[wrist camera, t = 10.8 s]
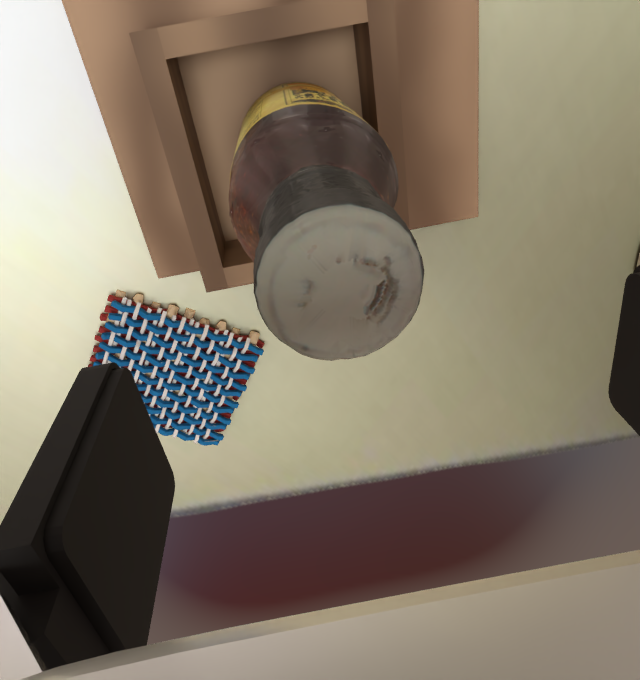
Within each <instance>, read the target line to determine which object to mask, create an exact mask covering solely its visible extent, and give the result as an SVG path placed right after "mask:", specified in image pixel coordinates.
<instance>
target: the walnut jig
mask: <svg viewBox="0 0 640 680" xmlns="http://www.w3.org/2000/svg"><path fill="white" fill-rule="evenodd" d="M62 3H63V5H64V8H65V11H66V14H67V17H68V20H69V23H70V25H71V28H72V31H73V34H74V37H75V40H76V43H77V46H78V48H79V51H80V54H81V57H82V60H83V63H84V66H85V69H86V71H87V74H88V77H89V80H90V83H91V86H92V89H93V92H94V94H95V97H96V100H97V103H98V106H99V109H100V112H101V115H102V117H103V120H104V123H105V126H106V129H107V132H108V135H109V138H110V140H111V143H112V146H113V149H114V152H115V155H116V158H117V160H118V163H119V166H120V169H121V172H122V175H123V178H124V181H125V183H126V186H127V189H128V192H129V195H130V198H131V201H132V204H133V206H134V209H135V212H136V215H137V218H138V221H139V224H140V227H141V229H142V232H143V235H144V238H145V241H146V244H147V247H148V250H149V252H150V255H151V258H152V261H153V264H154V267H155V270H156V272H157V275H158V278H164V277H169V276H174V275H179V274H185V273H190V272H195V271H200V272H201V275H202V278H203V282H204V285H205V288H206V292H211V291H216V290H221V289H227V288H232V287H237V286H242V285H247V284H252V283H254V275H253V269H254V262H253V261H252V259H251V258H250V257H249V256H248V255H247V253H246V252H245V251H244V249H243V247H242V245H241V243H240V242H239V241H238V238H237V235H236V233H235V231H234V229H233V225H232V222H231V217H230V215H229V188H230V187H229V186H230V173H231V166H232V162H233V158H234V154H235V150H236V146H237V142H238V138H239V134H240V130H241V126H242V122H243V119H244V118H245V116H246V114H247V112H248V111H249V109H250V107H251V106H252V105H253V104H254V103H255V101H256V100H257V99H258V98H260V97H261V96H262V95H263V94H264V93H266V92H267V91H269V90H270V89H272V88H274V87H276V86H279V85H281V84H286V83H293V82H305V83H311V84H315V85H318V86H321V87H323V88H325V89H326V90H328V91H330V92H331V93H333V94H334V95H335V96H336V97H338V98H339V99H340V100H341V101H342V102H343V103H345V104H346V105H347V106H348V107H350V108H351V109H352V110H354V111H355V112H356V114H358V115H359V116H360V117H361V118H362V119H364V120H365V121H366V122H367V123H368V124H369V125H370V126H372V127H373V128H374V129H375V130H376V131H377V132H378V134H379V135H380V136H381V137H382V138H383V139H384V141H385V142H386V144H387V146H388V148H389V149H390V151H391V153H392V156H393V158H394V161H395V164H396V168H397V172H398V186H399V189H398V195H397V201H396V204H395V206H394V210H395V211H396V212H397V213H398V215H399V216H400V217H401V218H402V220H403V221H404V222H405V223H406V225H407V226H408V228H409V230H411V229H417V228H422V227H427V226H432V225H437V224H442V223H447V222H453V221H458V220H463V219H468V218H473V217H478V74H479V0H62Z"/></svg>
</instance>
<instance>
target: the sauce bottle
mask: <svg viewBox="0 0 640 680" xmlns="http://www.w3.org/2000/svg"><path fill="white" fill-rule="evenodd" d="M229 187H230V188H229V215H230V217H231V222H232V225H233V229H234V231H235V233H236V235H237V238H238V241H239V242H240V243H241V245H242V247H243V249H244V251H245V252H246V253H247V255H248V256H249V257H250V258H251V259H252V261H253V262H254V269H253V275H254V294H255V298H256V302H257V307H258V310H259V312H260V314H261V317H262V319H263V320H264V322H265V324H266V325H267V327H268V329H269V330H270V331H271V332H272V333H273V334H274V335H275V336H276V337H277V338H278V339H279V340H280V341H282V342H283V343H285V344H286V345H288V346H289V347H291V348H292V349H294V350H295V351H297V352H298V353H300V354H302V355H305V356H308V357H311V358H315V359H321V360H330V361H333V360H337V359H351V358H356V357H361V356H366V355H368V354H370V353H372V352H374V351H376V350H378V349H380V348H382V347H383V346H385V345H386V344H387V343H389V342H390V341H392V340H393V339H394V338H396V337H397V336H398V335H399V334H400V333H401V332H402V330H403V329H404V328H405V327H406V326H407V325H408V323H409V322H410V321H411V319H412V317H413V316H414V314H415V313H416V310H417V308H418V305H419V302H420V296H421V292H422V286H423V277H424V267H423V261H422V257H421V255H420V252H419V250H418V247H417V243H416V240H415V239H414V237H413V236H412V233H411V232H410V230H409V228H408V226H407V225H406V223H405V222H404V221H403V220H402V218H401V217H400V216H399V215H398V213H397V212H396V211H395V210H394V206H395V204H396V201H397V195H398V189H399V186H398V172H397V168H396V164H395V161H394V158H393V156H392V153H391V151H390V149H389V148H388V146H387V144H386V142H385V141H384V139H383V138H382V137H381V136H380V135H379V134H378V132H377V131H376V130H375V129H374V128H373V127H372V126H370V125H369V124H368V123H367V122H366V121H365V120H364V119H362V118H361V117H360V116H359V115H358V114H356V112H355V111H354V110H352V109H351V108H350V107H348V106H347V105H346V104H345V103H343V102H342V101H341V100H340V99H339V98H338V97H336V96H335V95H334V94H333V93H331V92H330V91H328V90H326V89H325V88H323V87H321V86H318V85H315V84H311V83H305V82H293V83H286V84H281V85H279V86H276V87H274V88H272V89H270V90H269V91H267V92H266V93H264V94H263V95H262V96H261V97H260V98H258V99H257V100H256V101H255V103H254V104H253V105H252V106H251V107H250V109H249V111H248V112H247V114H246V116H245V118H244V119H243V122H242V126H241V130H240V134H239V138H238V142H237V146H236V150H235V154H234V158H233V162H232V166H231V173H230V186H229Z"/></svg>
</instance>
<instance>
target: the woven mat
mask: <svg viewBox="0 0 640 680" xmlns="http://www.w3.org/2000/svg"><path fill="white" fill-rule="evenodd" d="M125 295H126V292H123V291H120V290H117V291H116V294H115V296H113V295H109V296H108V300H107V301H110V302H112V303H111V306H109V305H106V307H105V312H108V313H109V314H101V315H100V320H101V321H106V323H105V327H103V326H100V328H99V331H98V332H100V333H102V335H101V336H98V335H95V340H97V341H99V342H100V344H99V346H96V345H94V348H93V352H97V353H96V356H95V355H92V356H91V358H90V361H92V362H94V364H93V365H92V364H89V365H88V367H91V366H96V365H101V364H107V363H112V362H114V363H117V364H118V366H119V367H120V369H122V368H128V369H129V370H130V371H131V373H132V375H133V378H134V380H135V383H136V385H137V387H138V390H139V392H140V395H141V397H142V399H143V402H144V404H145V407H146V409H147V411H148V414H149V416H150V419H151V421H152V423H153V426H154V428H155V431H156V433H158V432H159V433H160V434H162V435H164V436H168V435H173V436H172V437H173V438H175V437H176V436H177V437H179V438H181V439H183V440H184V441H188V440H194V441H193V442H194V443H195V444H196V443H197V442H198V443H199V444H200V445H212V444H214V445H218V443H219V441H220V440H223V437H224V436H223V434H218V433H216V432H222V431H224V430H225V428H226V426H227V424H228V425H230V422H231V420H230V417H231V414H232V413H233V411H234V409H235V408H237V407H238V405H239V404H238V402H234V401H232V398H233V399H234V400H236V401H237V400H238V399H239V397H240V396H241V394H242V391H245V390H246V388H247V387H246V385H245V384H246V382H247V380H248V379H249V377H250V374H253V373H254V371H255V369H254V366H255V362H256V361H257V359H258V358H259V355H262V354H263V352H264V350H263V349H261V348H262V347H263V346H264V344H265V343H264V342H262V341H260V340H259V339H258V338H259V335H260V334H259V333H257V332H253V331H250V335H244V336H241V335H239V333H240V329H237V328H234V327H233V329H232V331H231V333H230V332H229V330H226V322H223V321H220V322H219V323H217V324H216V327H215V328H212V327H209V324H210V322H209V320H208V319H205V318H202V319H200V321H199V322H195V320H194V319H193V316H194V314H195V310H192V309H189V308H186V310H185V313H184V316H181V315H180V314H178V313H177V312H178V310H179V308H178V307H177V306H175V305H170V304H169V306H168V309H162V308H160V305H161V304H159V303H156V302H152V305H151V307H149V306H146V305H143V295H141V294H136V295H135V296H134V297H133V301H132V300H127V297H125ZM158 320H160V322H159V321H158ZM175 320H177V321H175ZM119 324H120V325H119ZM118 325H119V326H118ZM204 340H205V341H204ZM224 341H226V342H224ZM149 345H151V347H150V346H149ZM256 345H257V346H258V347H259V348H258V347H256ZM114 355H115V356H114ZM125 358H127V359H125ZM232 360H234V361H232ZM252 361H254V362H252ZM178 364H179V366H178ZM154 377H157V378H154ZM188 378H189V379H188ZM207 382H209V383H208V384H207ZM243 384H244V385H243ZM182 394H184V395H186V396H182ZM217 395H218V396H217ZM220 395H221V396H220ZM210 411H211V412H212V413H209V412H210ZM158 415H160V416H159V418H157V417H158ZM225 417H226V418H225ZM163 427H165V428H163ZM172 427H173V428H172ZM168 428H172V429H168ZM186 432H188V433H187V434H186Z"/></svg>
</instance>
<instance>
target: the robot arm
mask: <svg viewBox="0 0 640 680" xmlns="http://www.w3.org/2000/svg"><path fill="white" fill-rule="evenodd" d="M609 398H610V401H611V403H612V405H613V407H614V408H615V410H616V411H617V412H618V413H619V414H620V415H621V416H622V417H623V418H624V419H625V420H626V422H627V423H628V424H629V425H630V426H631V427H632V428H633V429H634V430H635V431H636V432H637V433H638V435H639V436H640V253H639V258H638V262H637V267H636V269H635V271H634V273H633V274H630V275H629V276H628V277H627V279H626V283H625V288H624V295H623V301H622V307H621V314H620V320H619V327H618V333H617V339H616V346H615V352H614V358H613V365H612V371H611V378H610V384H609ZM174 491H175V481H174V475H173V472H172V469H171V467H170V464H169V462H168V459H167V457H166V455H165V452H164V450H163V447H162V445H161V443H160V440H159V438H158V435H157V433H156V431H155V428H154V426H153V423H152V421H151V419H150V416H149V414H148V411H147V409H146V407H145V404H144V402H143V399H142V397H141V395H140V392H139V390H138V387H137V385H136V383H135V380H134V378H133V375H132V373H131V371H130V370H129V369H128V368H122V369H120V367H119V366H118V364H117V363H114V362H112V363H107V364H101V365H96V366H91V367H85V368H82V369H81V371H80V372H79V374H78V376H77V378H76V380H75V382H74V384H73V385H72V387H71V389H70V391H69V393H68V395H67V397H66V399H65V401H64V403H63V405H62V407H61V409H60V411H59V413H58V415H57V416H56V418H55V420H54V422H53V424H52V426H51V428H50V430H49V432H48V434H47V436H46V438H45V440H44V442H43V444H42V446H41V448H40V449H39V451H38V453H37V455H36V457H35V459H34V461H33V463H32V465H31V467H30V469H29V471H28V473H27V475H26V477H25V479H24V480H23V482H22V484H21V486H20V488H19V490H18V492H17V494H16V496H15V498H14V500H13V502H12V504H11V506H10V508H9V510H8V512H7V513H6V515H5V517H4V519H3V521H2V523H1V525H0V680H640V550H636V551H631V552H626V553H620V554H615V555H609V556H605V557H599V558H593V559H588V560H582V561H577V562H572V563H566V564H561V565H556V566H550V567H546V568H540V569H535V570H529V571H524V572H518V573H513V574H508V575H503V576H497V577H492V578H486V579H482V580H476V581H471V582H465V583H460V584H455V585H450V586H445V587H439V588H433V589H428V590H423V591H418V592H412V593H407V594H402V595H397V596H391V597H386V598H381V599H377V600H371V601H366V602H360V603H355V604H350V605H345V606H340V607H335V608H329V609H325V610H319V611H314V612H309V613H304V614H299V615H293V616H288V617H283V618H278V619H273V620H267V621H262V622H257V623H252V624H247V625H242V626H237V627H231V628H226V629H222V630H218V631H212V632H207V633H203V634H198V635H193V636H188V637H184V638H179V639H174V640H170V641H165V642H160V643H155V644H151V645H147V640H148V635H149V629H150V624H151V618H152V613H153V607H154V602H155V596H156V591H157V585H158V580H159V574H160V568H161V563H162V557H163V551H164V546H165V541H166V535H167V530H168V524H169V519H170V513H171V508H172V502H173V497H174Z"/></svg>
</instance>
